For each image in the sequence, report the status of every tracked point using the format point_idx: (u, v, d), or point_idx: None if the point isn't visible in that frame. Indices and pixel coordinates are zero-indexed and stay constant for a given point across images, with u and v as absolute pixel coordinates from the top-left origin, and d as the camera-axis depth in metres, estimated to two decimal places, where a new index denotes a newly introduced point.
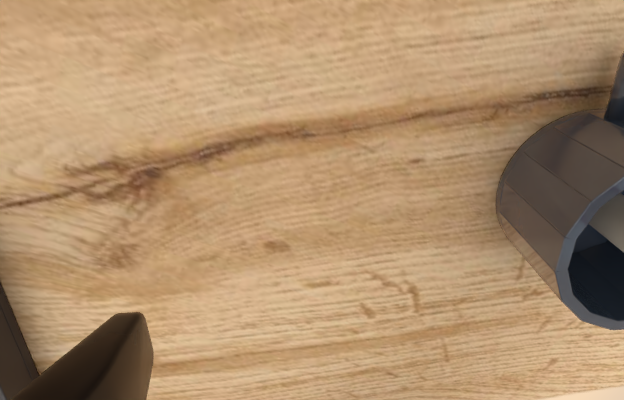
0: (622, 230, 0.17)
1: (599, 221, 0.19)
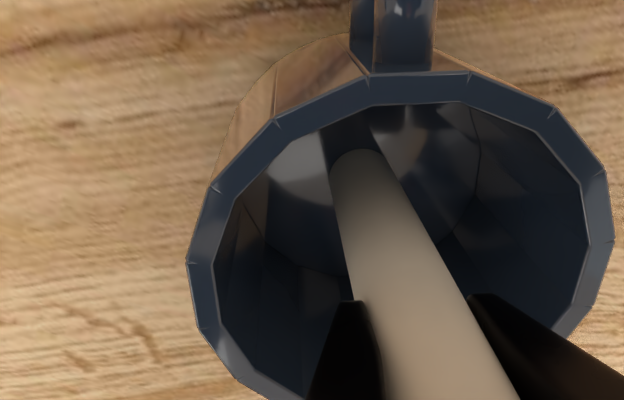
0: (348, 244, 0.09)
1: (339, 226, 0.10)
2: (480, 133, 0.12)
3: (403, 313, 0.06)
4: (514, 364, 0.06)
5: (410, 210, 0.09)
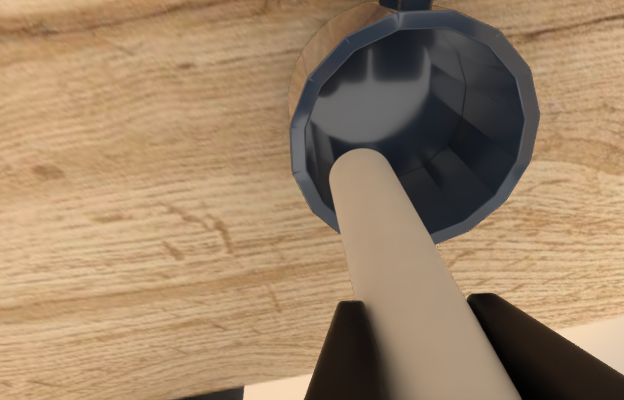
0: (349, 244, 0.09)
1: (339, 226, 0.10)
2: (465, 70, 0.18)
3: (403, 312, 0.06)
4: (515, 364, 0.06)
5: (411, 210, 0.09)
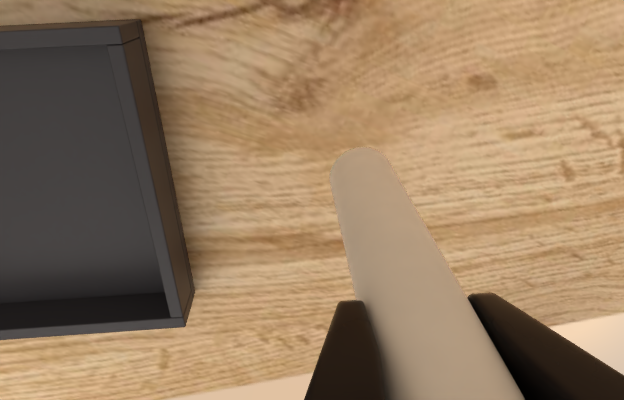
0: (349, 242, 0.09)
1: (340, 224, 0.10)
2: None
3: (404, 309, 0.06)
4: (515, 364, 0.06)
5: (411, 208, 0.09)
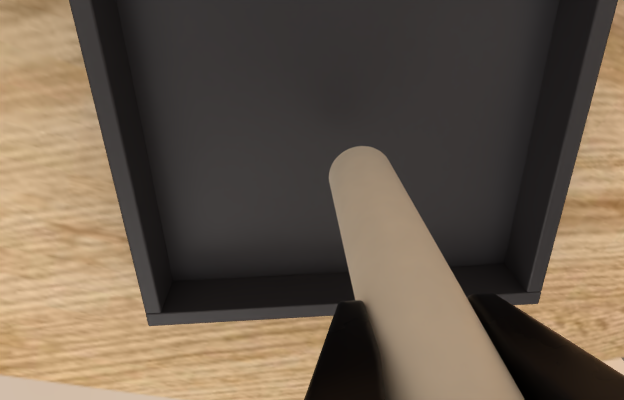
0: (348, 241, 0.09)
1: (339, 224, 0.10)
2: None
3: (403, 309, 0.06)
4: (514, 364, 0.06)
5: (410, 207, 0.09)
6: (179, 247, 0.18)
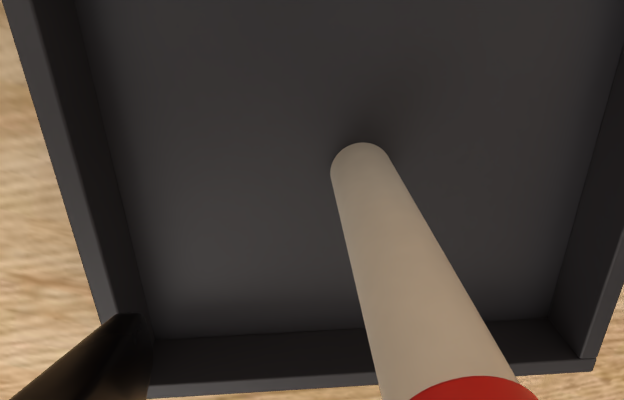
0: (349, 232, 0.09)
1: (340, 216, 0.11)
2: None
3: (401, 292, 0.07)
4: None
5: (409, 199, 0.10)
6: (161, 301, 0.15)
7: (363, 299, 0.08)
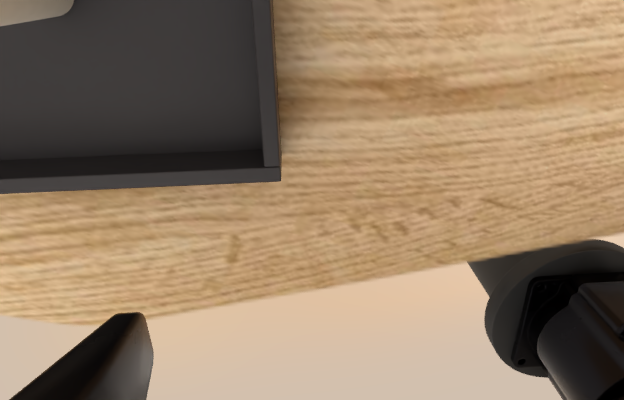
0: None
1: None
2: None
3: None
4: None
5: None
6: None
7: None
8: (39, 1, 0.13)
